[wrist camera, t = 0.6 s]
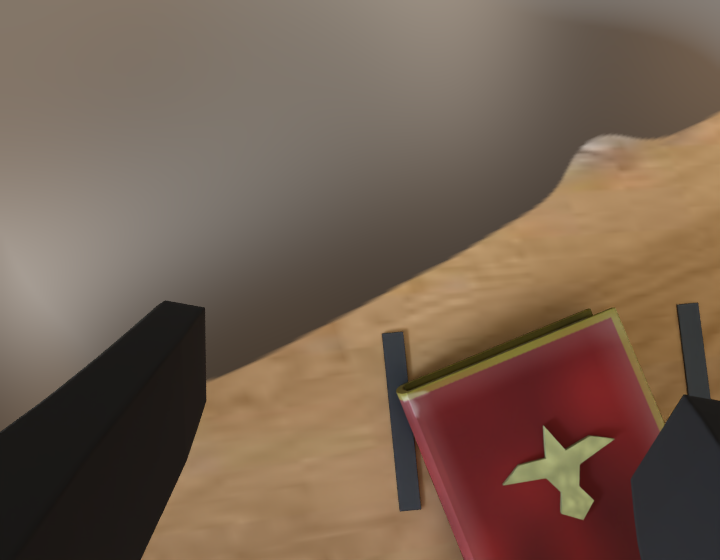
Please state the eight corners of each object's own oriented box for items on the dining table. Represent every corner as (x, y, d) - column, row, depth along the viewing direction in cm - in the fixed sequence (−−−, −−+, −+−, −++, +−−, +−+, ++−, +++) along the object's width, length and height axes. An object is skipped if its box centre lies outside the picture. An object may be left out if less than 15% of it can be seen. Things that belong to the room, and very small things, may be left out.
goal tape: (720, 478, 37) (721, 479, 37) (399, 510, 37) (399, 511, 37) (697, 302, 37) (698, 302, 37) (382, 333, 37) (382, 333, 37)
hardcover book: (538, 744, 36) (562, 801, 32) (394, 388, 37) (399, 396, 33) (736, 659, 36) (786, 704, 32) (587, 308, 37) (617, 307, 33)
